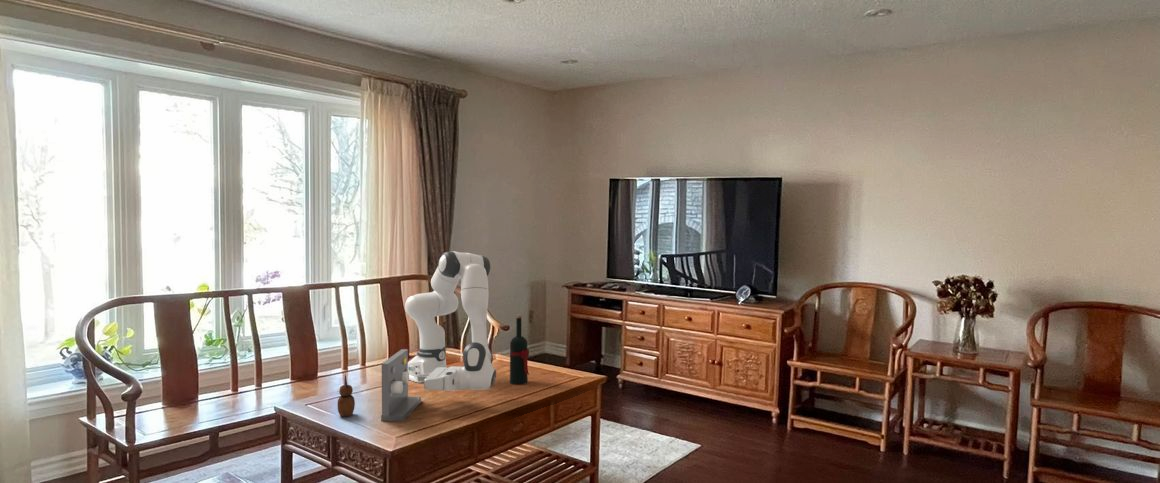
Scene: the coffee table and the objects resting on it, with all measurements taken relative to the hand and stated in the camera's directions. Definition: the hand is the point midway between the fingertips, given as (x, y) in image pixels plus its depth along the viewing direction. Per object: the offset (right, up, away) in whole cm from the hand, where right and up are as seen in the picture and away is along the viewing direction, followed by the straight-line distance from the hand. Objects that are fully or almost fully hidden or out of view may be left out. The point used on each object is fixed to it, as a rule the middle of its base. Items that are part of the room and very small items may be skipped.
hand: (418, 377), depth 257 cm
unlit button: (-5, -3, -14) cm, 15 cm away
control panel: (-4, -11, -6) cm, 14 cm away
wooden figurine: (-24, -12, -12) cm, 29 cm away
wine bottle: (+36, -10, +35) cm, 51 cm away
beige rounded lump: (-6, -2, 0) cm, 6 cm away
